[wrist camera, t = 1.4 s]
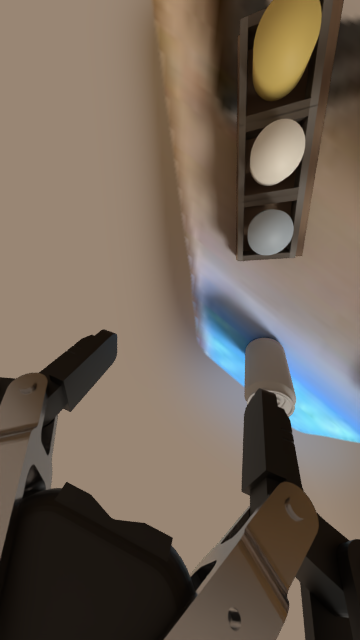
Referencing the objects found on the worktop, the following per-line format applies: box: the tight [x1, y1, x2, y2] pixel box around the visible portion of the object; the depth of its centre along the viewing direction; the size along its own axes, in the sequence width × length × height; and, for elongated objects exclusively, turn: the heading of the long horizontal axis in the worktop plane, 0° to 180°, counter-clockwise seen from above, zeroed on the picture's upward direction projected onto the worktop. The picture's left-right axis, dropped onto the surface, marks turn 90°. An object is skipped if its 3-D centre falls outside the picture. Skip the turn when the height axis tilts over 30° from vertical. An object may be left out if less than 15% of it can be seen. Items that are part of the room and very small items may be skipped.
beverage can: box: [245, 338, 296, 417], centre depth 30 cm, size 6×6×12 cm
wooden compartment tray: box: [236, 0, 344, 261], centre depth 21 cm, size 20×8×5 cm, turn 8°
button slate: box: [248, 209, 294, 255], centre depth 21 cm, size 4×4×3 cm
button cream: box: [250, 119, 305, 186], centre depth 18 cm, size 4×4×3 cm
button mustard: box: [253, 0, 322, 101], centre depth 15 cm, size 4×4×3 cm
